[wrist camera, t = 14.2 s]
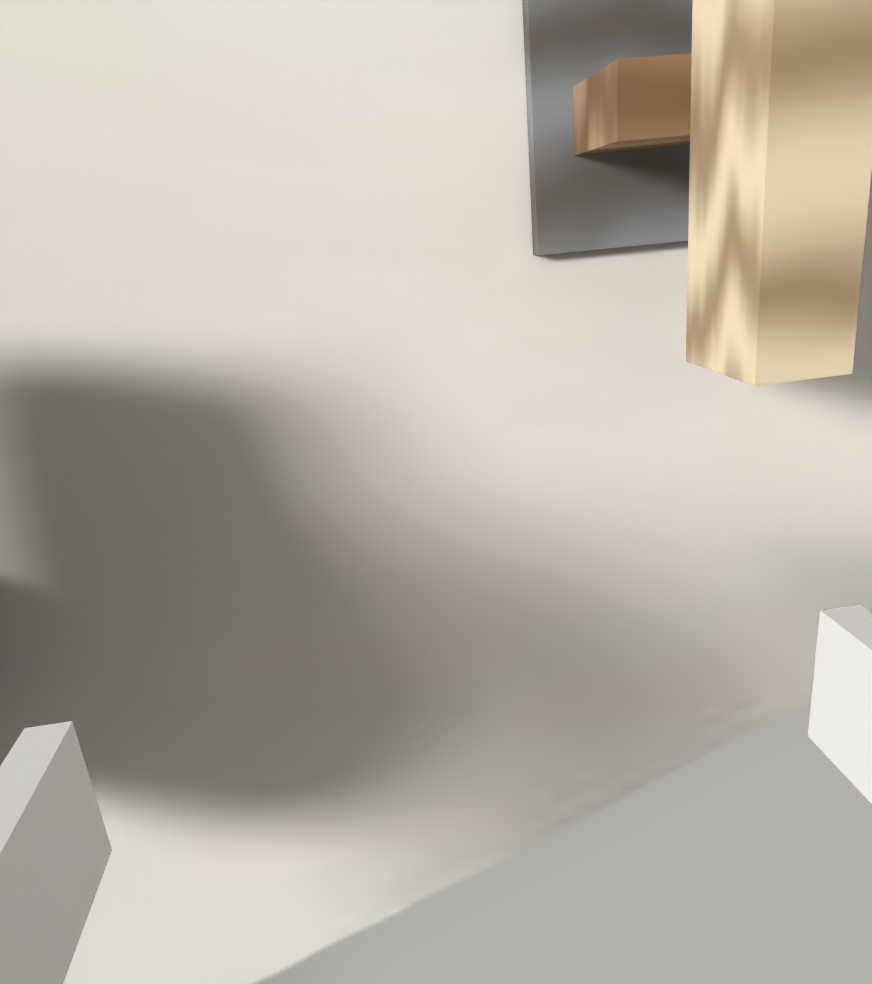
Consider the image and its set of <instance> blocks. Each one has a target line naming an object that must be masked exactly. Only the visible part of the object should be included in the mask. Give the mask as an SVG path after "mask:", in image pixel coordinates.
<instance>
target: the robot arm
mask: <svg viewBox="0 0 872 984" xmlns="http://www.w3.org/2000/svg"><path fill="white" fill-rule="evenodd" d="M808 737H809V738H810V739H811V740H812V741H813V742H814V743H815V744H816V745H817V746H818V747H819V748H820V749H821V750H822V751H823V752H824V754H825V755H826V756H827V757H828V758H829V759H830V760H831V761H832V762H833V763H834V764H835V765H836V766H837V767H838V768H839V770H841V772H842V773H843V774H844V775H845V776H846V777H847V778H848V779H849V780H850V781H851V782H852V783H853V784H854V786H855V787H856V788H857V789H858V790H859V791H860V792H861V793H862V794H863V795H864V796H865V797H866V798H867V799H868V800H869V801H870V802H871V804H872V613H871V612H870V611H869V610H867V609H866V608H864V607H863V606H861V605H860V604H858V605H851V606H845V607H838V608H831V609H825V610H820V616H819V626H818V637H817V647H816V657H815V667H814V678H813V688H812V698H811V708H810V718H809V729H808ZM111 851H112V849H111V846H110V842H109V839H108V836H107V833H106V829H105V826H104V823H103V820H102V816H101V813H100V810H99V806H98V803H97V800H96V797H95V793H94V790H93V787H92V784H91V780H90V777H89V774H88V770H87V767H86V764H85V761H84V757H83V754H82V751H81V748H80V744H79V741H78V738H77V734H76V731H75V728H74V725H73V721H69V722H62V723H55V724H49V725H42V726H35V727H28V728H24V729H23V731H22V733H21V734H20V736H19V737H18V739H17V740H16V742H15V744H14V745H13V747H12V748H11V750H10V752H9V753H8V755H7V756H6V758H5V759H4V761H3V763H2V764H1V766H0V984H63V982H64V979H65V977H66V974H67V971H68V969H69V966H70V963H71V960H72V958H73V955H74V952H75V949H76V947H77V944H78V941H79V938H80V936H81V933H82V930H83V927H84V925H85V922H86V919H87V917H88V914H89V911H90V908H91V906H92V903H93V900H94V897H95V895H96V892H97V889H98V886H99V884H100V881H101V878H102V876H103V873H104V870H105V867H106V865H107V862H108V859H109V856H110V854H111Z"/></svg>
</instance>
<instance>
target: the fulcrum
mask: <svg viewBox="0 0 872 984" xmlns="http://www.w3.org/2000/svg"><path fill="white" fill-rule="evenodd" d="M692 8H693V0H523V24H524V47H525V71H526V95H527V118H528V142H529V166H530V189H531V213H532V236H533V255H548V254H558V253H568V252H578V251H588V250H598V249H608V248H618V247H629V246H639V245H649V244H659V243H669V242H679V241H688V226H689V172H690V117H691V62H692Z"/></svg>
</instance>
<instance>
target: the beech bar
mask: <svg viewBox="0 0 872 984" xmlns="http://www.w3.org/2000/svg"><path fill="white" fill-rule="evenodd" d="M871 172H872V0H693V8H692V62H691V117H690V172H689V226H688V281H687V336H686V361H687V362H690V363H692V364H695V365H698V366H701V367H703V368H706V369H709V370H712V371H714V372H717V373H720V374H723V375H726V376H728V377H731V378H734V379H737V380H739V381H742V382H745V383H748V384H750V385H753V386H760V385H768V384H776V383H784V382H791V381H799V380H807V379H815V378H823V377H831V376H839V375H847V374H852V372H853V361H854V351H855V340H856V330H857V319H858V309H859V298H860V288H861V277H862V267H863V256H864V246H865V235H866V225H867V214H868V204H869V193H870V183H871Z"/></svg>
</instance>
